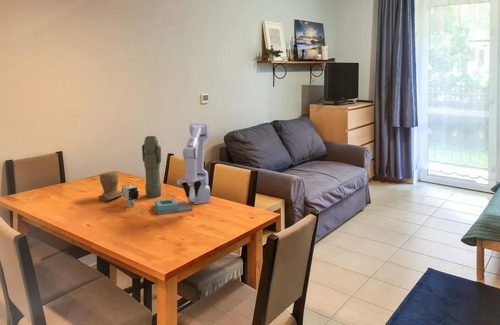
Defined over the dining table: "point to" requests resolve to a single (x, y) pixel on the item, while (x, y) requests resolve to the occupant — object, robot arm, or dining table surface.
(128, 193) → the pneumatic valve
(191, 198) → the pin
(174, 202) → the block
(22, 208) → the dining table surface
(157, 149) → the stone statue
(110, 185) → the brown upright piece
